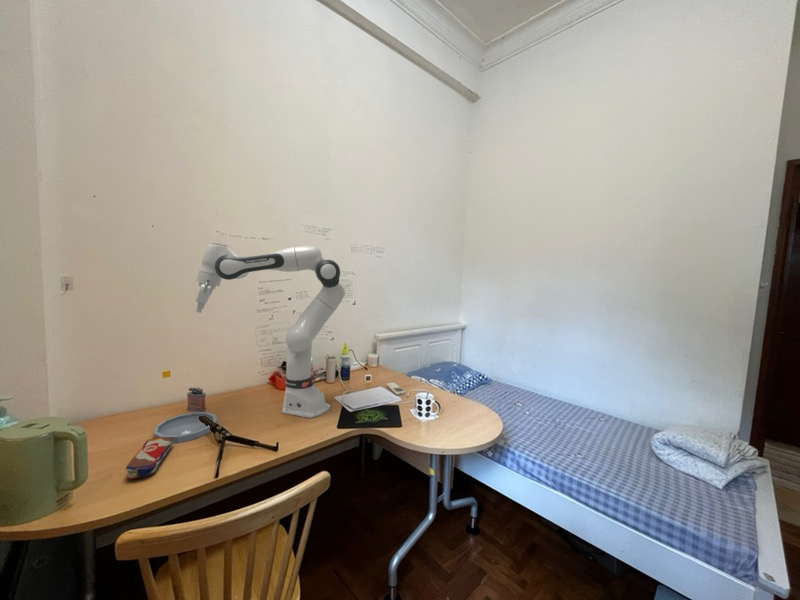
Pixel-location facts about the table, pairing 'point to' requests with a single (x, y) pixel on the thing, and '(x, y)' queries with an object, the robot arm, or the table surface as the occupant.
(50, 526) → the table surface
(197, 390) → the lighter
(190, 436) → the dish
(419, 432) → the table surface
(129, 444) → the table surface
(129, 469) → the pencil case
